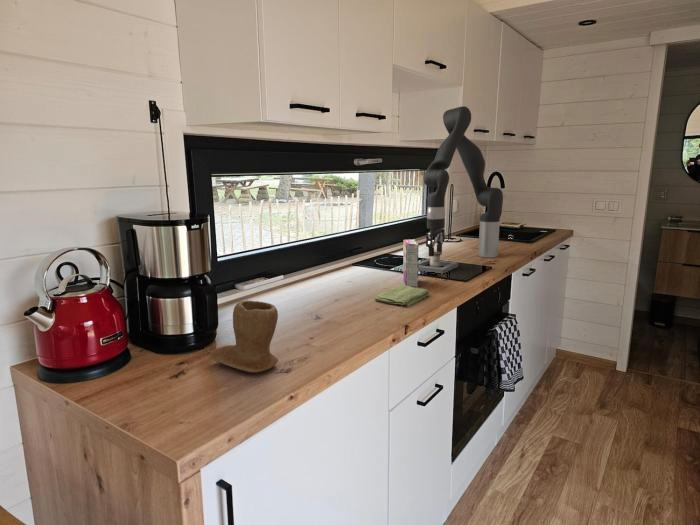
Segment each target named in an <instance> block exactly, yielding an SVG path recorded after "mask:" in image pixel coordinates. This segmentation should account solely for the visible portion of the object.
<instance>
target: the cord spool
mask: <svg viewBox="0 0 700 525" xmlns="http://www.w3.org/2000/svg"><path fill="white" fill-rule="evenodd" d="M442 254H443V251H442V252H437V251H434V256H433V257H432V256H429V259H430V265H428V266H429V267H438V268H442V267H441V266H440V261H441V255H442Z"/></svg>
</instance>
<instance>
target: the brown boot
mask: <svg viewBox="0 0 700 525" xmlns="http://www.w3.org/2000/svg"><path fill="white" fill-rule="evenodd" d="M278 312H279V311H278V309H277V307H276V306H275V305H274V304H272V303H270V302H263V301H260V300H259V301H257V300H255V301H254V300H241V301H238V302H237V303H236V304H235V306H234V307H233V312H232V328H233V333H234V338H235V344H228V345H222V346H220V347H218V348H216V349H214V350H213V351H212V352H211V353H210V354H209V356H208V358H209V359H210V360H212V361H214V362H217V363H220V364H222V365H225V366H228V367H230V368H234V369H236V370H239V371H243V372H247V373H252V374H253V373H262V372H265V371H267V370H269V369H271V368H273V367H275V366H276V365H277V363H278V362H279V359H278V358H277V357H276V356H275V355H273V354H272V353H271V350H270V347H271V342H272V340H273V337H274V334H275V332H276V328H277V323H278V318H279V313H278Z"/></svg>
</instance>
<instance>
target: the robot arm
mask: <svg viewBox="0 0 700 525" xmlns="http://www.w3.org/2000/svg"><path fill="white" fill-rule="evenodd" d="M442 121H443V125H444V127H445V129H446V131H447V133H448V136H447V137H446V138H445V139H444V140H443V142H441V144H440V146H439V147H438V148H437V151H436V155H435V158H434V159H433V161H432V162H431V163H430V165H429V166H428V168H426V171H424V175H423V182H424V185H426V186H427V187H433V188H434V187H435V188H436V187H437V189H436V191H434V192H433V191H432V192H430V193H429V194H428V195H427V210H426V228H427V229H429V232H426V234H425V239H426V240H425V247H427V248H428V257H430V256H432V257H433V256H434V252H435V245H436V252H442V253H443V244H444V243H445V234H446V232H445V227H446V225H445V224H446V221H445V220H446V209H445V196H446V194H447V193H446V192H447V190H448V185H449V183H450V182H449V181H450V174H449V172H448V171H447V169H449V168H450V166H451V163H452V160H453V157H454V154H455V152H456V150H457V152H458V154H459V156H460V158H461V161H462V164H463V166H464V168H465V170H466V173H467V175H468V178H469V180H470V183H471V184H472V188H473V191H474V194H475V197H476V201H477V202H478V204H479V205H480V206H482V207H484V208H486V207H487V210H486V212H485V213H483V214H480V216H479V234H478V253H477V254H478V257H481V258H488V259H489V258H498V256H499V241H500V238H499V237H500V224H501V223H500V219H501V216H502V212H503V203H504V194H503V190H502V189H501V188H499V187H488V184H487V183H486V180H485V177H484V176H485V174H484V173H485V170H486V161H485V157H484V155H483V153H482V151H481V149H480V147H478V146H477V145H476V144H475V143H474V142H473V141H472V140H470V139H469V138H468V137H466V135H465V134H466V132H467V130H468V128H469V126H470V124H471V121H472V113H471V110H470V108H469V107H468V106H462V105H461V106H457V107H454V108H451V109H448V110H445V111H444V112H443V115H442Z"/></svg>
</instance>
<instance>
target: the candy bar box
mask: <svg viewBox="0 0 700 525" xmlns="http://www.w3.org/2000/svg"><path fill="white" fill-rule="evenodd" d="M402 251H403V253H402V254H403V259H402V260H403V267H402V268H403V270H402V272H403V281H404V285H406V286H410V287H414V288H419V271H418V263H419V243H418V241H417V240H416V239H414V238H413V239H410V238H409V239H403V250H402Z"/></svg>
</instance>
